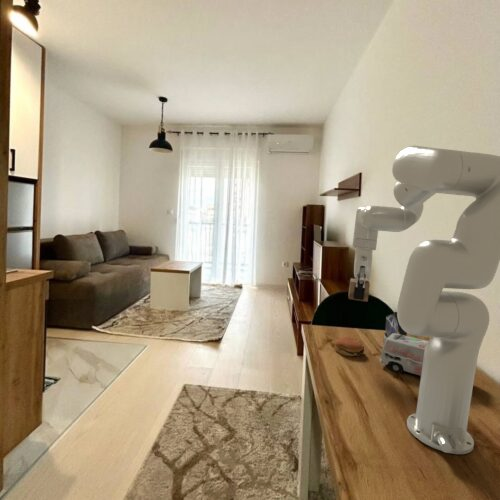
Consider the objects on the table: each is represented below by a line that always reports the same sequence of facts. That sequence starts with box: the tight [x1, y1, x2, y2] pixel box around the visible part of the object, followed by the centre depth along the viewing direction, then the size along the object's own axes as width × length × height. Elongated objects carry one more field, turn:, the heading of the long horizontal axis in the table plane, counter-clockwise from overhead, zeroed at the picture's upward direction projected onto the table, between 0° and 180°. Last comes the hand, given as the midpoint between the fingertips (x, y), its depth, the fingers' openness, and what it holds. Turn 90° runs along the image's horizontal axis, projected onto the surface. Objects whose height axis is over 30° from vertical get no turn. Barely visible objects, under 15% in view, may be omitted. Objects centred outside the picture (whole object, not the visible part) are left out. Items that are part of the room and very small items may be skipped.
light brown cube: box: [348, 277, 371, 303], centre depth 110 cm, size 6×6×6 cm
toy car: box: [379, 333, 429, 377], centre depth 100 cm, size 11×25×10 cm, turn 53°
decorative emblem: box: [382, 311, 408, 344], centre depth 117 cm, size 12×2×15 cm, turn 0°
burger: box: [334, 336, 365, 357], centre depth 114 cm, size 10×9×5 cm
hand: (358, 296), depth 110 cm, fingers closed on light brown cube, 6 cm apart
